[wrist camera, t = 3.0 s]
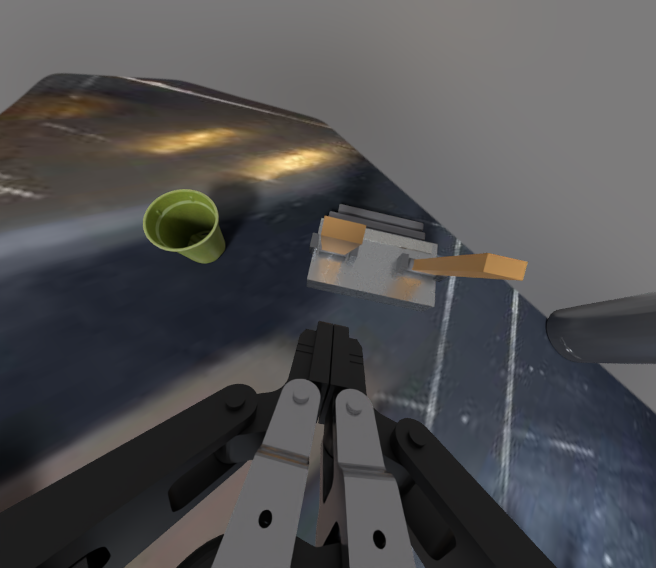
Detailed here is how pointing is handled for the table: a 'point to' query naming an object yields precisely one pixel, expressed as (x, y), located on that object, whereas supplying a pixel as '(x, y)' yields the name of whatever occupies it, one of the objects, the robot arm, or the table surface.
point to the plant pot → (185, 225)
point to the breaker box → (376, 270)
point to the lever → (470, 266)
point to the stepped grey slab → (381, 222)
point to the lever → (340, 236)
